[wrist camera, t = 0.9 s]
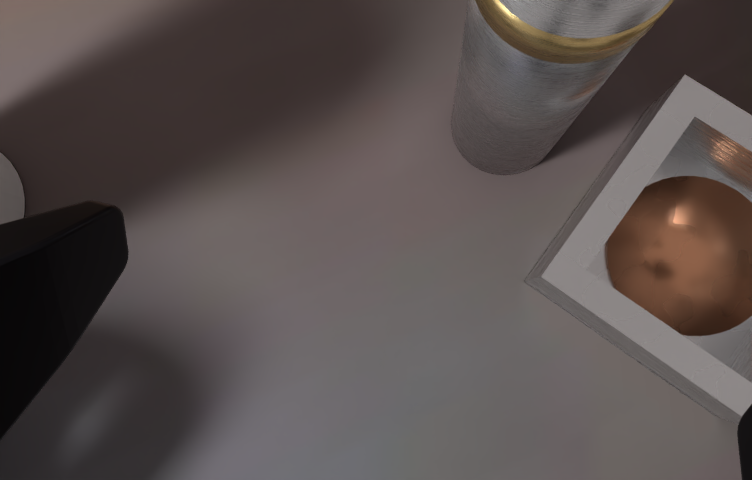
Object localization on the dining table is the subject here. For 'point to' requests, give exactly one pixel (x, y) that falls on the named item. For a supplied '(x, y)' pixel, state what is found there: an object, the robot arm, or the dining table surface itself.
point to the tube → (536, 72)
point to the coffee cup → (10, 192)
